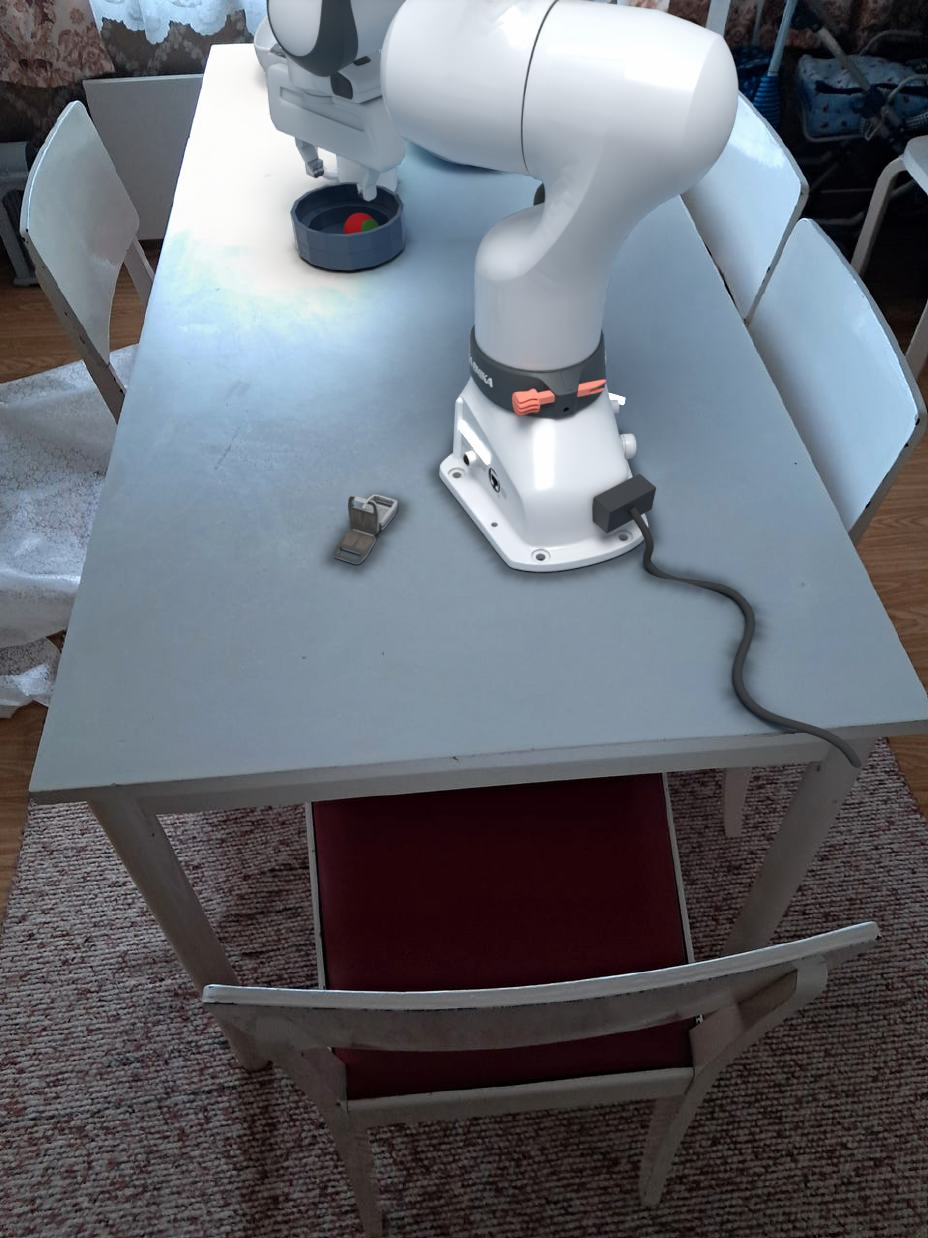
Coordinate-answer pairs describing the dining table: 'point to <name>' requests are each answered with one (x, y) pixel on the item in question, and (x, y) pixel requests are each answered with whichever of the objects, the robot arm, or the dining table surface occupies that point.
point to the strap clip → (365, 525)
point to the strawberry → (359, 223)
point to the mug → (358, 173)
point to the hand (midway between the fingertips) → (341, 186)
